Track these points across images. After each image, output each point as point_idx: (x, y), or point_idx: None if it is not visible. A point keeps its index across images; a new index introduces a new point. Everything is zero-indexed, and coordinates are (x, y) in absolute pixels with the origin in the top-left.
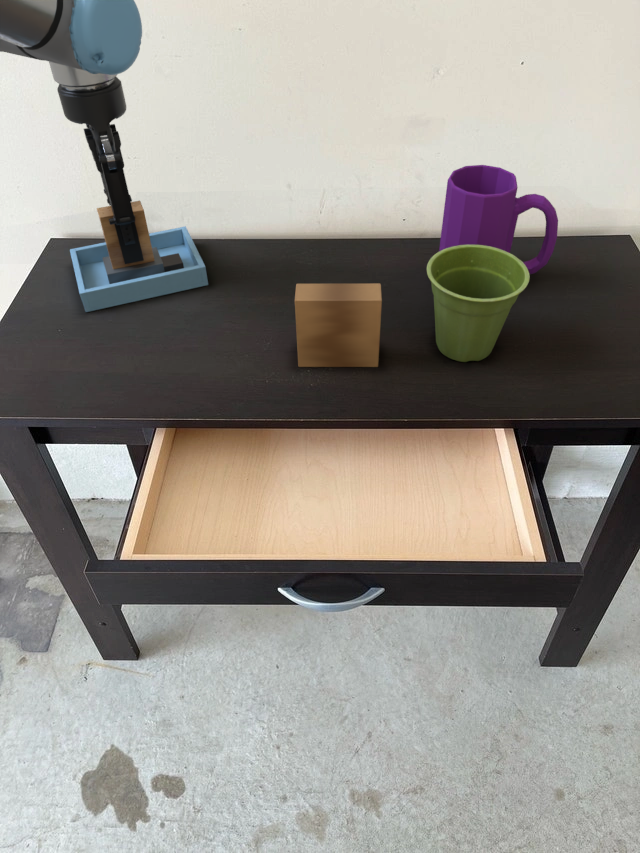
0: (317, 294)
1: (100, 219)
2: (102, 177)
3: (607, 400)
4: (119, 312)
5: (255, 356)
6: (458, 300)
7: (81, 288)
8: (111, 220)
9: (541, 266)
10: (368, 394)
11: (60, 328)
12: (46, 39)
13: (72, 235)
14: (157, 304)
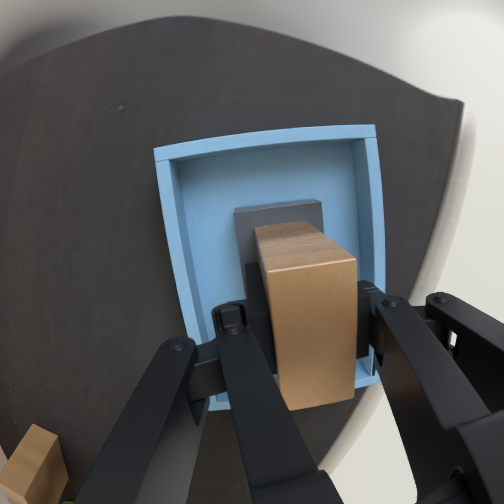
0: (11, 497)
1: (266, 270)
2: (414, 372)
3: None
4: (150, 222)
5: (41, 396)
6: None
7: (176, 151)
8: (222, 319)
9: None
10: (15, 447)
11: (126, 107)
12: None
13: (466, 141)
14: (164, 298)
